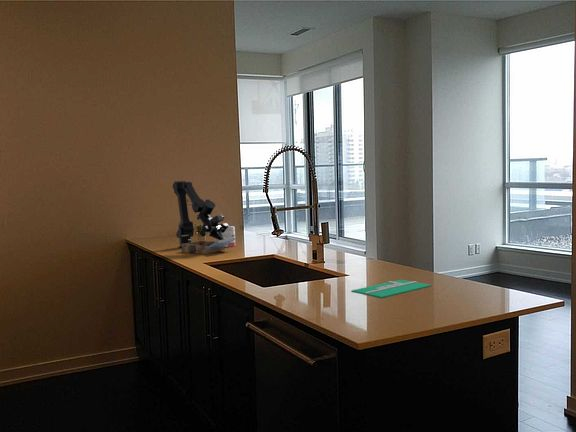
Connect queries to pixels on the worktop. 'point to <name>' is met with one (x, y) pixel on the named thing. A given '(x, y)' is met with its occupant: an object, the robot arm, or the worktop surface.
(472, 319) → the worktop surface
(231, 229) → the ink box
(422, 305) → the worktop surface
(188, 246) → the tray
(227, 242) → the tailgate
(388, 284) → the sign
